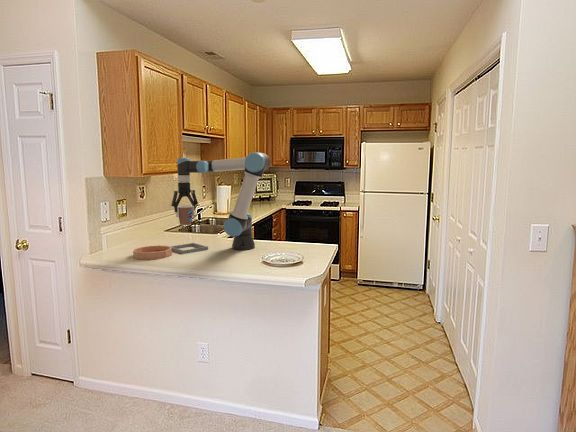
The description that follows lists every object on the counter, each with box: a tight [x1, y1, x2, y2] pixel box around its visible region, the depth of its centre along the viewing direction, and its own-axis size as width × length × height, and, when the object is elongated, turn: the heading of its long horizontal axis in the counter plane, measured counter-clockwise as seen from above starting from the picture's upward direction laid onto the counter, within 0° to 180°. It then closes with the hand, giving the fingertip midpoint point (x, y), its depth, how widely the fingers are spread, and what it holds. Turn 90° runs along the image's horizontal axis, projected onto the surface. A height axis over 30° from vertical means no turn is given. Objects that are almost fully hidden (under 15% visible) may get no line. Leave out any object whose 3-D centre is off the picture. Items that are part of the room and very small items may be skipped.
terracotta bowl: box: [132, 245, 173, 261], centre depth 242 cm, size 22×22×4 cm
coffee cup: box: [177, 205, 193, 226], centre depth 255 cm, size 10×10×12 cm
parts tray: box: [170, 242, 209, 255], centre depth 259 cm, size 18×18×2 cm
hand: (185, 216), depth 255 cm, fingers closed on coffee cup, 10 cm apart
